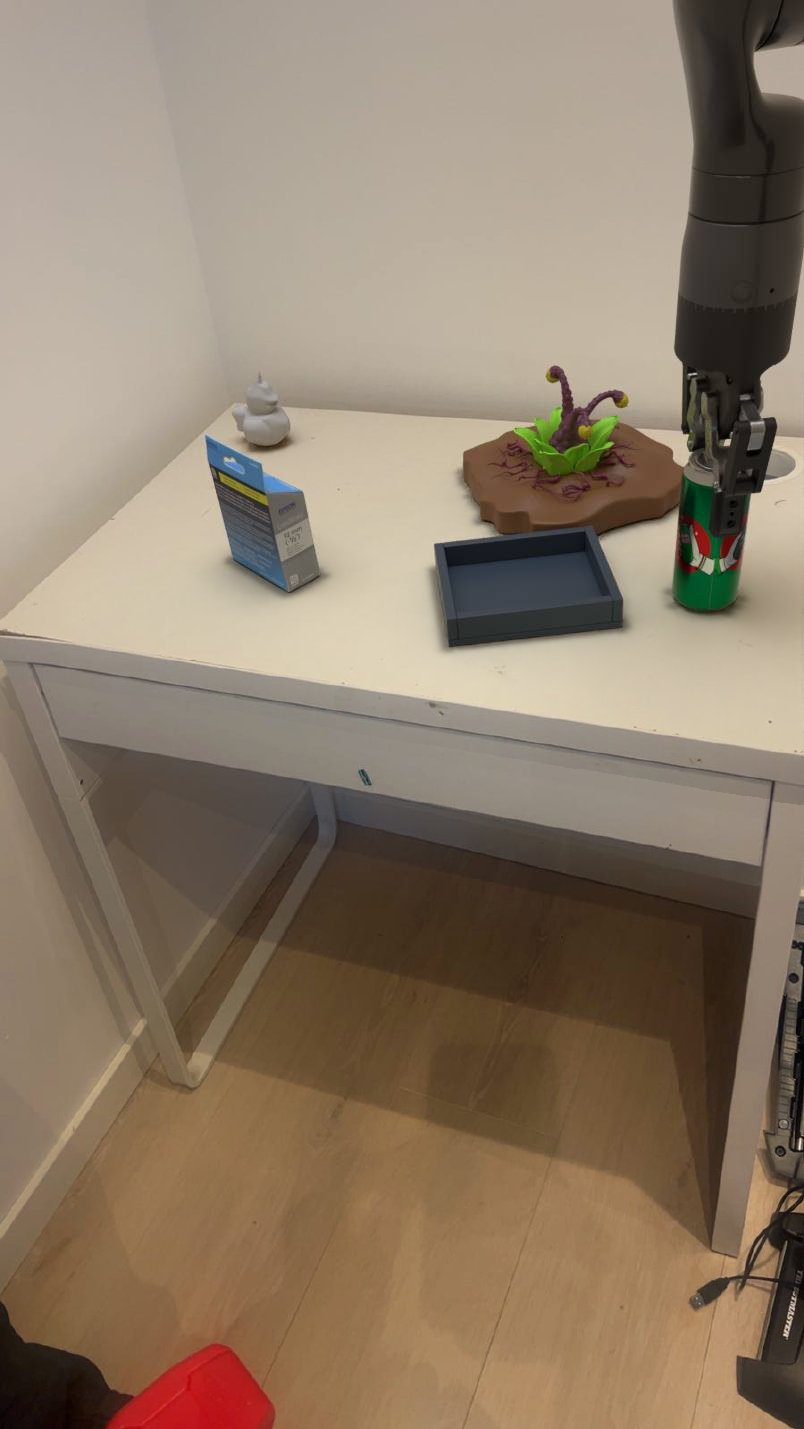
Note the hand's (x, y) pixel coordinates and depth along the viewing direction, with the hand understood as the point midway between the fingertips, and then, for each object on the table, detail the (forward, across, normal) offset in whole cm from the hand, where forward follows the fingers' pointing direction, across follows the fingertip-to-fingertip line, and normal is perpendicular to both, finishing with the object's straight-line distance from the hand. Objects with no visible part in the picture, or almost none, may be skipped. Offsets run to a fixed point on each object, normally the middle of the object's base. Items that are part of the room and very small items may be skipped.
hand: (712, 514), depth 78 cm
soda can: (+8, 0, 0) cm, 8 cm away
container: (+7, +3, +14) cm, 16 cm away
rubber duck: (+8, +39, +37) cm, 54 cm away
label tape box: (+8, +12, +35) cm, 38 cm away
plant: (+8, +21, +7) cm, 23 cm away
